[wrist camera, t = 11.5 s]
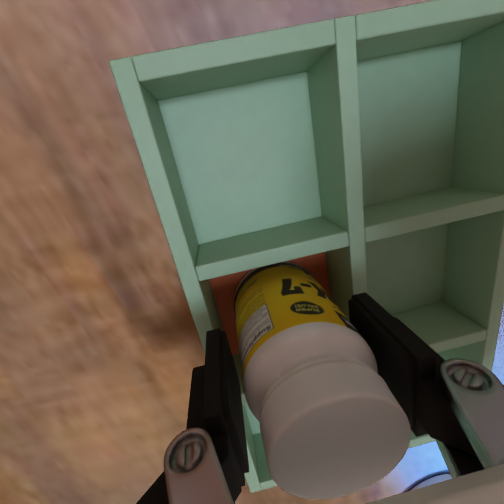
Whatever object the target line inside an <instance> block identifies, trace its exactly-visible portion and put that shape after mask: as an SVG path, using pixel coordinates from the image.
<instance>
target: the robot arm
mask: <svg viewBox="0 0 504 504" xmlns="http://www.w3.org/2000/svg"><path fill="white" fill-rule="evenodd" d="M348 307H349V320H350V322H351V323H352V324H353V326H354V327H355V328H356V330H357V331H358V332H359V333H360V334H361V335H362V336H363V338H364V339H365V341H366V342H367V344H368V345H369V347H370V348H371V350H372V352H373V354H374V356H375V359H376V363H377V369H378V375H379V376H381V377H382V379H383V380H384V381H385V382H386V384H387V386H388V388H389V390H390V391H391V393H392V394H393V396H394V397H395V399H396V400H397V402H398V403H399V405H400V406H401V408H402V409H403V411H404V412H405V414H406V416H407V418H408V421H409V424H410V428H411V430H412V432H413V433H414V434H415V436H416V437H418V436H422V435H425V434H428V435H429V436H430V437H431V438H433V439H436V442H437V444H438V447H439V449H440V451H441V453H442V456H443V458H444V460H445V463H446V465H447V467H448V470H449V472H450V474H451V477H452V479H449V480H445V481H442V482H438V483H435V484H432V485H428V486H425V487H421V488H418V489H414V490H411V491H408V492H404V493H401V494H397V495H394V496H391V497H387V498H384V499H380V500H377V501H374V502H370V503H367V504H504V385H503V384H502V383H501V382H500V381H499V379H498V378H497V377H496V376H495V375H494V374H493V373H492V372H491V371H490V370H489V369H488V368H486V367H484V366H483V365H481V364H479V363H476V362H474V361H471V360H467V359H460V358H454V359H448V360H444V359H443V358H442V357H441V356H440V355H439V354H438V353H437V352H435V351H434V350H433V349H432V348H431V347H430V346H429V345H427V344H426V343H425V342H424V341H423V340H422V339H421V338H420V337H418V336H417V335H416V334H415V333H414V332H413V331H412V330H410V329H409V328H408V327H407V326H406V325H405V324H404V323H403V322H401V321H400V320H399V319H398V318H396V317H393V316H392V315H391V314H390V313H388V312H387V311H386V310H385V309H384V308H383V307H382V306H381V305H380V304H378V303H377V302H376V301H375V300H374V299H373V298H372V297H371V296H369V295H368V294H367V293H366V292H363V293H359V294H355V295H352V297H351V299H349V300H348ZM248 472H249V461H248V452H247V443H246V434H245V425H244V416H243V407H242V398H241V390H240V382H239V378H238V374H237V370H236V367H235V363H234V360H233V356H232V353H231V349H230V346H229V342H228V339H227V335H226V332H225V330H224V331H220V328H218V329H214V330H210V331H207V332H206V351H205V365H203V366H199V367H195V368H193V371H192V380H191V390H190V399H189V409H188V419H187V429H186V430H185V431H183V432H181V433H180V434H179V435H177V436H176V437H175V438H174V439H173V440H172V442H171V443H170V444H169V446H168V448H167V450H166V453H165V456H164V472H163V473H162V474H161V475H160V476H159V478H158V479H157V480H156V481H155V482H154V483H153V485H152V486H151V487H150V488H149V489H148V490H147V492H146V493H145V494H144V495H143V496H142V498H141V499H140V500H139V501H138V502H137V503H136V504H235V501H236V499H237V498H238V496H239V494H240V493H241V486H245V478H244V473H248Z"/></svg>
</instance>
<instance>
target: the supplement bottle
mask: <svg viewBox="0 0 504 504" xmlns="http://www.w3.org/2000/svg"><path fill="white" fill-rule="evenodd" d="M234 310H235V318H236V328H237V336H238V345H239V354H240V363H241V372H242V381H243V390H244V395H245V398H246V402H247V404H248V406H249V409H250V411H251V412H252V414H253V415H254V417H255V418H256V419H257V420H258V421H259V422H260V433H261V436H262V440H263V445H264V451H265V456H266V461H267V466H268V470H269V472H270V475H271V476H272V478H273V480H274V481H275V483H276V484H277V485H278V486H279V487H280V488H281V489H283V490H284V491H286V492H287V493H289V494H291V495H294V496H297V497H301V498H306V499H319V500H323V499H333V498H338V497H343V496H347V495H350V494H353V493H356V492H358V491H361V490H363V489H366V488H368V487H369V486H371V485H373V484H374V483H376V482H378V481H379V480H381V479H382V478H384V477H385V476H386V475H387V474H388V473H390V472H391V471H392V470H393V469H394V468H395V467H396V465H397V464H398V463H399V462H400V461H401V459H402V458H403V457H404V455H405V453H406V451H407V449H408V447H409V443H410V438H411V428H410V424H409V421H408V418H407V416H406V414H405V412H404V411H403V409H402V408H401V406H400V405H399V403H398V402H397V400H396V399H395V397H394V396H393V394H392V393H391V391H390V390H389V388H388V386H387V384H386V382H385V381H384V380H383V379H382V377H381V376H379V375H378V369H377V363H376V359H375V356H374V354H373V352H372V350H371V348H370V347H369V345H368V344H367V342H366V341H365V339H364V338H363V336H362V335H361V334H360V333H359V332H358V331H357V330H356V328H355V327H354V326H353V324H352V323H351V322H350V321H349V320H348V319H347V317H346V316H345V315H344V314H343V312H342V311H341V310H340V309H339V307H338V306H337V305H336V303H335V302H334V301H333V300H332V299H331V298H330V297H329V295H328V294H327V293H326V291H325V290H324V289H323V288H322V287H321V285H320V284H319V283H318V281H317V280H316V279H315V278H314V277H313V275H312V274H311V273H310V272H309V271H308V270H306V269H305V268H304V267H302V266H300V265H298V264H296V263H293V262H289V261H284V262H280V263H275V264H271V265H267V266H263V267H258V268H254V269H252V270H251V271H249V272H248V273H247V274H246V275H245V276H244V277H243V279H242V280H241V282H240V283H239V285H238V287H237V290H236V293H235V297H234Z"/></svg>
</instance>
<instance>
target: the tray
mask: <svg viewBox="0 0 504 504" xmlns="http://www.w3.org/2000/svg"><path fill="white" fill-rule="evenodd" d="M109 64H110V67H111V70H112V73H113V76H114V79H115V82H116V85H117V88H118V91H119V94H120V98H121V101H122V104H123V107H124V110H125V113H126V116H127V119H128V122H129V125H130V128H131V131H132V134H133V137H134V140H135V143H136V146H137V149H138V152H139V155H140V158H141V161H142V164H143V167H144V171H145V174H146V177H147V180H148V183H149V186H150V189H151V192H152V195H153V198H154V201H155V204H156V207H157V210H158V213H159V216H160V219H161V222H162V225H163V228H164V231H165V234H166V237H167V241H168V244H169V247H170V250H171V253H172V256H173V259H174V262H175V265H176V268H177V271H178V274H179V277H180V280H181V283H182V286H183V289H184V292H185V295H186V298H187V301H188V304H189V307H190V310H191V314H192V317H193V320H194V323H195V326H196V329H197V332H198V335H199V338H200V341H201V344H202V347H203V350H204V353H205V351H206V332H207V331H210V330H214V329H218V328H220V331H224V330H225V332H226V335H227V339H228V342H229V346H230V349H231V353H232V356H233V360H234V363H235V367H236V370H237V374H238V378H239V382H240V390H241V398H242V407H243V416H244V425H245V434H246V443H247V452H248V461H249V472H248V473H244V475H245V478H246V481H247V484H248V487H249V490H250V493H253V492H257V491H260V490H261V489H262V490H264V489H268V488H271V487H275V486H278V485H277V484H276V483H275V481H274V480H273V478H272V476H271V475H270V472H269V470H268V466H267V461H266V456H265V451H264V445H263V440H262V436H261V433H260V422H259V421H258V420H257V419H256V418H255V417H254V415H253V414H252V412H251V411H250V409H249V406H248V404H247V402H246V398H245V395H244V390H243V381H242V372H241V363H240V354H239V345H238V336H237V328H236V318H235V310H234V297H235V293H236V290H237V287H238V285H239V283H240V282H241V280H242V279H243V277H244V276H245V275H246V274H247V273H248V272H249V271H251V270H252V269H254V268H258V267H263V266H267V265H271V264H275V263H280V262H284V261H289V262H293V263H296V264H298V265H300V266H302V267H304V268H305V269H306V270H308V271H309V272H310V273H311V274H312V275H313V277H314V278H315V279H316V280H317V281H318V283H319V284H320V285H321V287H322V288H323V289H324V290H325V291H326V293H327V294H328V295H329V297H330V298H331V299H332V300H333V301H334V302H335V303H336V305H337V306H338V307H339V309H340V310H341V311H342V312H343V314H344V315H345V316H346V317H347V319H348V320H349V307H348V300H349V299H351V297H352V295H355V294H359V293H363V292H366V293H367V294H368V295H369V296H371V297H372V298H373V299H374V300H375V301H376V302H377V303H378V304H380V305H381V306H382V307H383V308H384V309H385V310H386V311H387V312H388V313H390V314H391V315H392V316H393V317H396V318H398V319H399V320H400V321H401V322H403V323H404V324H405V325H406V326H407V327H408V328H409V329H410V330H412V331H413V332H414V333H415V334H416V335H417V336H418V337H420V338H421V339H422V340H423V341H424V342H425V343H426V344H427V345H429V346H430V347H431V348H432V349H433V350H434V351H435V352H437V353H438V354H439V355H440V356H441V357H442V358H443V359H444V360H448V359H454V358H460V359H467V360H471V361H474V362H476V363H479V364H481V365H483V366H484V367H486V368H488V369H489V370H490V371H491V372H492V367H493V361H494V355H495V349H496V343H497V338H498V332H499V326H500V320H501V314H502V309H503V303H504V0H433V1H428V2H423V3H417V4H412V5H406V6H401V7H396V8H390V9H385V10H380V11H374V12H369V13H363V14H358V15H356V16H355V15H351V16H345V17H340V18H335V19H329V20H324V21H319V22H313V23H308V24H302V25H297V26H292V27H286V28H281V29H276V30H270V31H265V32H259V33H254V34H249V35H243V36H238V37H232V38H227V39H222V40H216V41H211V42H206V43H200V44H195V45H189V46H184V47H179V48H173V49H168V50H163V51H157V52H152V53H146V54H141V55H136V56H132V58H131V57H125V58H120V59H115V60H110V61H109ZM349 321H350V320H349ZM433 441H436V439H433V438H431V437H430V436H429V435H428V434H425V435H422V436H418V437H416V436H415V434H414V433H413V432H412V430H411V438H410V443H409V447H408V448H412V447H415V446H419V445H422V444H426V443H429V442H433Z"/></svg>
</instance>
